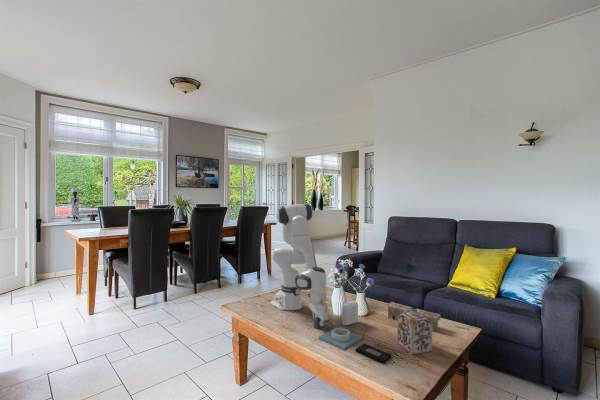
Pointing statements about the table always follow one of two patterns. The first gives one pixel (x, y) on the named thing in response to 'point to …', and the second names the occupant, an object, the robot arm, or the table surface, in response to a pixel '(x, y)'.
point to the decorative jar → (414, 331)
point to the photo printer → (350, 313)
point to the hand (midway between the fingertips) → (318, 322)
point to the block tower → (397, 309)
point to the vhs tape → (373, 353)
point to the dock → (340, 343)
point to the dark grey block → (317, 322)
